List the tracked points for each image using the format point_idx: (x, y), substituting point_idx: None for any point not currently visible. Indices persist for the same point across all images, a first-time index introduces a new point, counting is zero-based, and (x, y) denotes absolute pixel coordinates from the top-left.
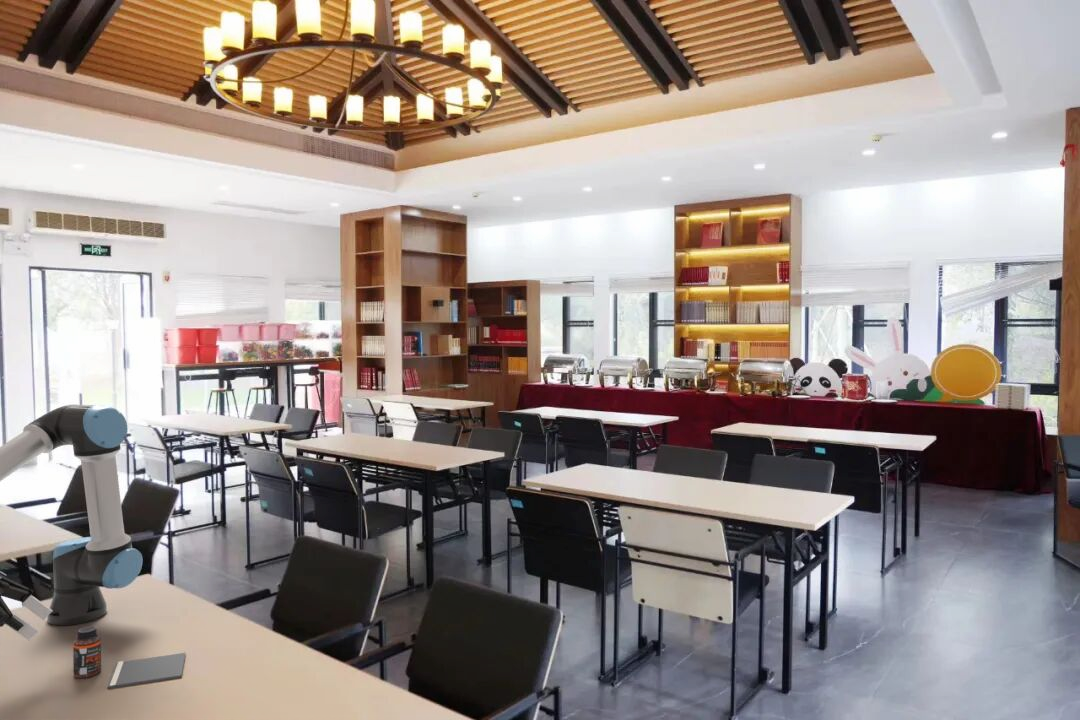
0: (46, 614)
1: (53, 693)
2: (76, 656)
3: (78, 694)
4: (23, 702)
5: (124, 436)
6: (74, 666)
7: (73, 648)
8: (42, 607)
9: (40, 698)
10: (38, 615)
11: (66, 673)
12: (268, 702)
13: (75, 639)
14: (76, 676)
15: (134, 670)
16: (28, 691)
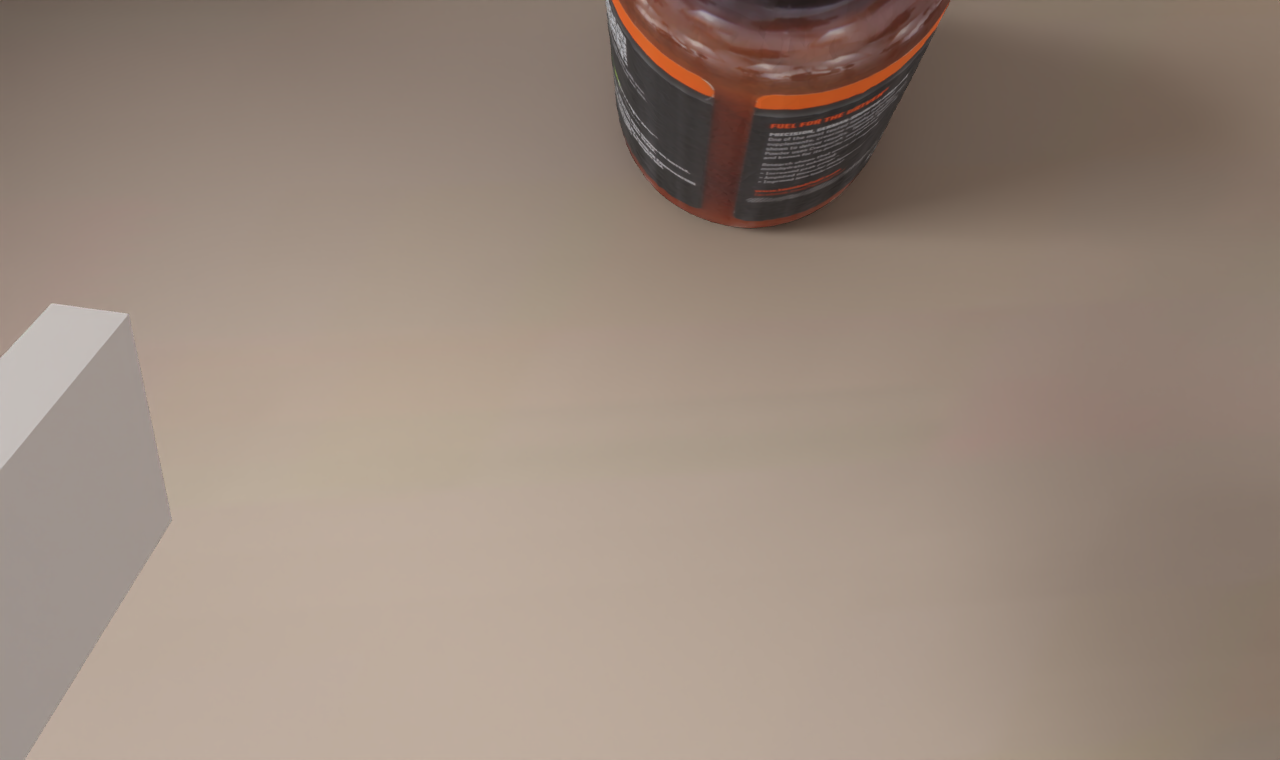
0: (128, 446)
1: (1116, 399)
2: (881, 110)
3: (1260, 170)
4: (1214, 666)
5: None
6: (819, 183)
7: (818, 113)
8: (8, 528)
9: (1188, 512)
10: (91, 623)
11: (623, 307)
12: None
13: (776, 41)
14: (834, 197)
15: None
16: (937, 644)
